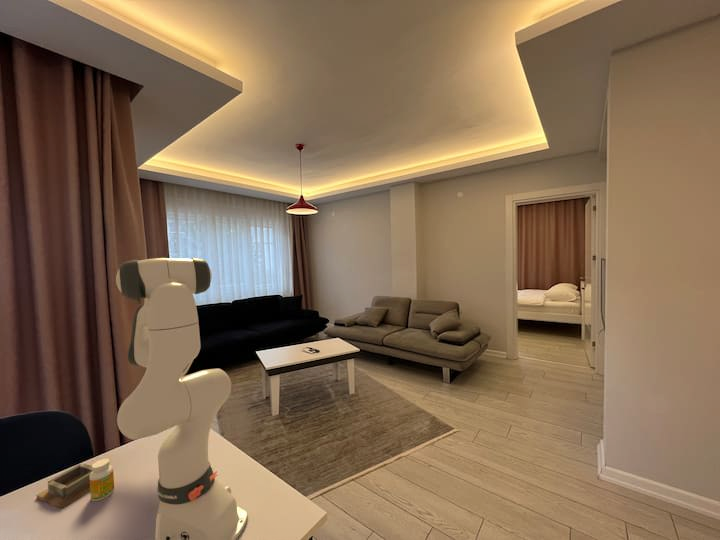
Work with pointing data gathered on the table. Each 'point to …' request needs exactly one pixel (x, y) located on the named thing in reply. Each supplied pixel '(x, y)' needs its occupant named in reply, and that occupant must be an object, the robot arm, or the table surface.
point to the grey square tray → (67, 486)
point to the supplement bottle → (101, 480)
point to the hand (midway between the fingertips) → (135, 429)
